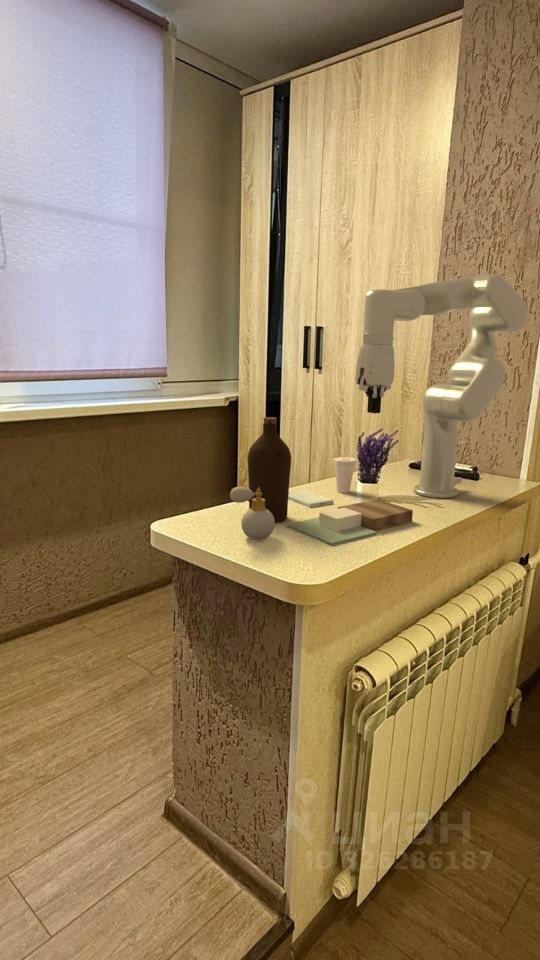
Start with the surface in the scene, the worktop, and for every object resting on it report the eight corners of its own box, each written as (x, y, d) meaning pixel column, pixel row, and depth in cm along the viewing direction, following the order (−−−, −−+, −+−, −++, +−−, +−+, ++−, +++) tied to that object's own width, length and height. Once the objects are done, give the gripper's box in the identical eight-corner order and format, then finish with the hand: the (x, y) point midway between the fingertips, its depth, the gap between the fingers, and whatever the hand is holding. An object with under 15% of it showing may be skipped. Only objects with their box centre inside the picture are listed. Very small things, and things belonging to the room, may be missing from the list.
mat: (330, 517, 151) (330, 514, 151) (376, 534, 138) (376, 531, 138) (286, 526, 143) (286, 524, 142) (331, 545, 130) (331, 543, 130)
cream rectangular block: (343, 519, 147) (344, 507, 147) (361, 525, 143) (361, 513, 142) (319, 524, 143) (319, 512, 142) (336, 531, 138) (336, 518, 137)
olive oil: (297, 516, 151) (300, 417, 145) (275, 527, 142) (278, 422, 136) (261, 509, 156) (262, 413, 150) (238, 519, 147) (239, 418, 141)
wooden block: (376, 510, 158) (377, 499, 157) (411, 521, 148) (412, 510, 148) (337, 518, 150) (337, 507, 149) (372, 531, 140) (372, 519, 139)
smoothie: (327, 491, 176) (329, 444, 172) (340, 487, 180) (343, 441, 177) (345, 495, 172) (348, 447, 168) (358, 491, 176) (361, 444, 173)
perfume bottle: (281, 539, 134) (282, 487, 131) (245, 548, 128) (245, 493, 125) (261, 530, 139) (262, 480, 137) (226, 538, 134) (226, 486, 131)
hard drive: (282, 493, 168) (309, 503, 158) (305, 489, 173) (333, 499, 163) (282, 499, 169) (309, 509, 159) (305, 495, 173) (333, 505, 163)
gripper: (387, 340, 160) (382, 409, 164) (346, 340, 151) (342, 413, 155) (409, 341, 154) (404, 412, 158) (367, 340, 145) (363, 416, 149)
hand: (373, 412), depth 157 cm, fingers closed
